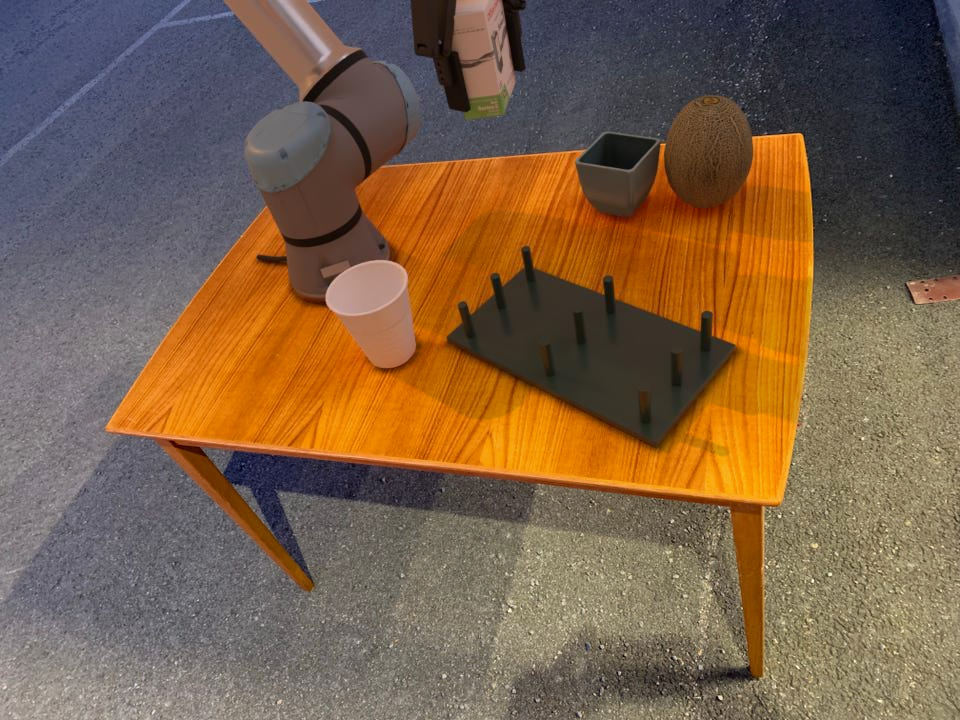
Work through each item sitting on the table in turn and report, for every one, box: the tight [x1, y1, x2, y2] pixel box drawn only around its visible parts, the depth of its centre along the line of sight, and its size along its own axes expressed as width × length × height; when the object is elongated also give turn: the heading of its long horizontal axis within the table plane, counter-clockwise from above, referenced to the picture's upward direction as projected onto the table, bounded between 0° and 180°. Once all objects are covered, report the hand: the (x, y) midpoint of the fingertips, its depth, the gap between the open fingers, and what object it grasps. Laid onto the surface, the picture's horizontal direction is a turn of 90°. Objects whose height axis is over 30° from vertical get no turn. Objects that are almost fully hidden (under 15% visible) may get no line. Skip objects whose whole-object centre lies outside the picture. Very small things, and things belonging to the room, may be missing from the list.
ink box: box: [451, 0, 516, 121], centre depth 78 cm, size 9×5×12 cm, turn 168°
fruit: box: [663, 94, 754, 209], centre depth 92 cm, size 11×11×15 cm
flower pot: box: [574, 131, 662, 218], centre depth 97 cm, size 9×9×9 cm
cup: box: [325, 260, 417, 369], centre depth 84 cm, size 10×10×11 cm
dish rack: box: [445, 245, 737, 449], centre depth 80 cm, size 30×16×6 cm, turn 48°
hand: (488, 88), depth 81 cm, fingers closed on ink box, 9 cm apart
